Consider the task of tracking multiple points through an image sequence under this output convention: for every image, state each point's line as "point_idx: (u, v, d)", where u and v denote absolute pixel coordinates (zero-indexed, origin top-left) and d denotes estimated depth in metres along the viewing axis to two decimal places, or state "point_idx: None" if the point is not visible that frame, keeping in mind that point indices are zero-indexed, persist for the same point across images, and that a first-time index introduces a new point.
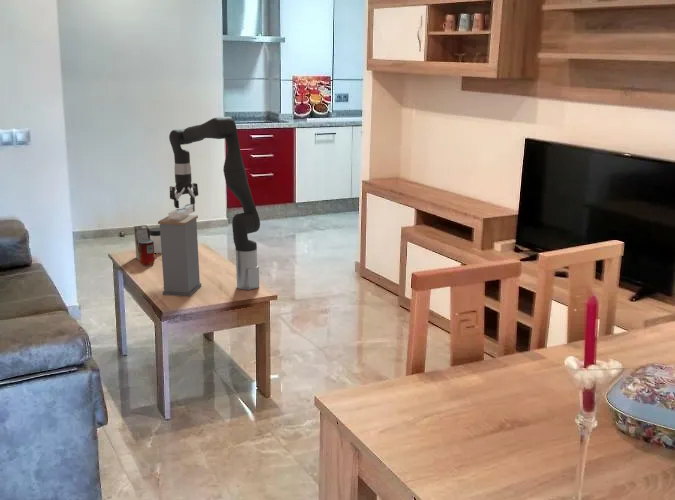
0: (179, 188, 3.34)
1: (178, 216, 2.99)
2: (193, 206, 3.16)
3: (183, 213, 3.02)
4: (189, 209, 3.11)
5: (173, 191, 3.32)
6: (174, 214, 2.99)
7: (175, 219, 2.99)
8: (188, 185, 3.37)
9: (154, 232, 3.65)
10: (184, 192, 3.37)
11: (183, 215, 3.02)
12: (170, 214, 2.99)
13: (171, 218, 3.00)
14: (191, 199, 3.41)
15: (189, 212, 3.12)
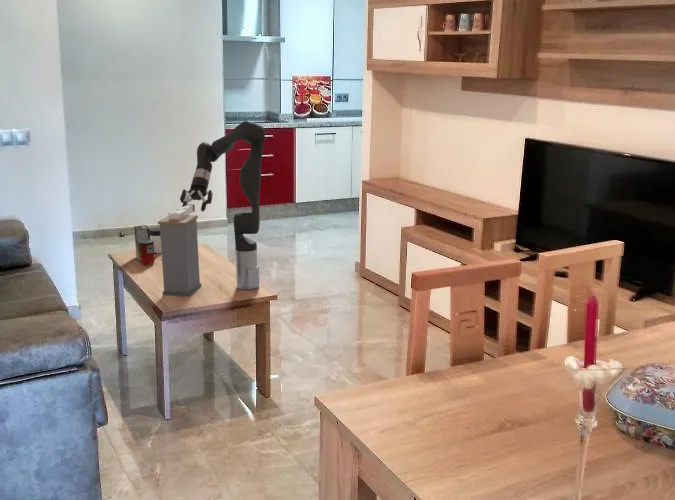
0: None
1: (178, 216, 2.99)
2: (193, 206, 3.16)
3: (183, 213, 3.02)
4: (189, 209, 3.11)
5: None
6: (174, 214, 2.99)
7: (175, 219, 2.99)
8: None
9: (154, 232, 3.65)
10: None
11: (183, 215, 3.02)
12: (170, 214, 2.99)
13: (171, 218, 3.00)
14: (186, 204, 3.27)
15: (189, 212, 3.12)
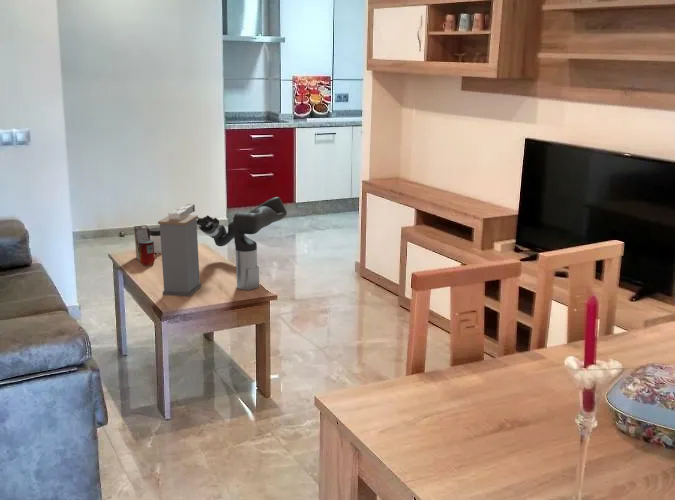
0: (210, 225, 3.34)
1: (178, 216, 2.99)
2: (193, 206, 3.16)
3: (183, 213, 3.02)
4: (189, 209, 3.11)
5: (216, 225, 3.32)
6: (174, 214, 2.99)
7: (175, 219, 2.99)
8: None
9: (154, 232, 3.65)
10: (203, 223, 3.32)
11: (183, 215, 3.02)
12: (170, 214, 2.99)
13: (171, 218, 3.00)
14: None
15: (189, 212, 3.12)
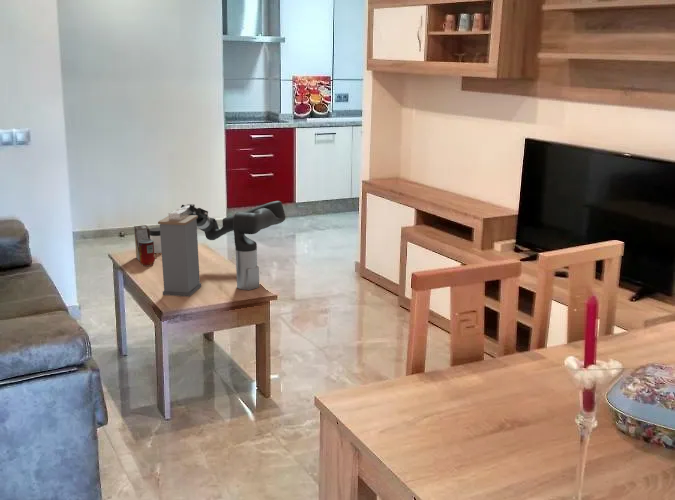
0: (199, 216, 3.20)
1: (178, 216, 2.99)
2: None
3: (183, 213, 3.02)
4: None
5: (204, 215, 3.18)
6: (174, 214, 2.99)
7: (175, 219, 2.99)
8: None
9: (154, 232, 3.65)
10: None
11: (183, 215, 3.02)
12: (170, 214, 2.99)
13: (171, 218, 3.00)
14: None
15: (189, 212, 3.12)
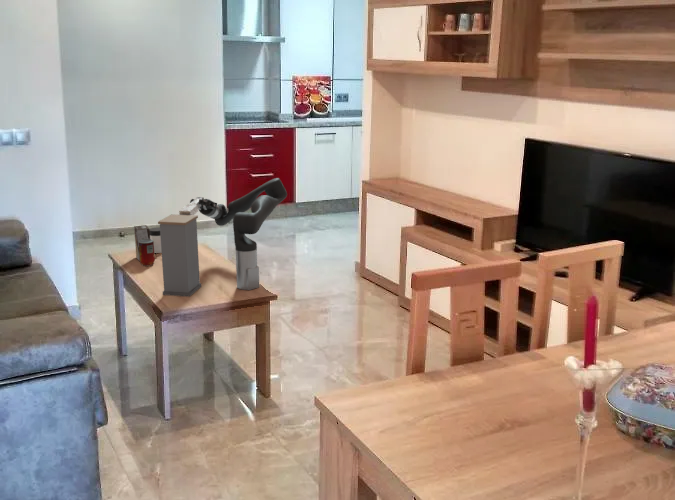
0: (209, 207, 3.32)
1: (189, 213, 3.11)
2: (202, 199, 3.27)
3: (193, 209, 3.14)
4: None
5: (213, 207, 3.30)
6: (185, 211, 3.11)
7: None
8: (200, 208, 3.34)
9: (154, 232, 3.65)
10: (201, 207, 3.31)
11: (193, 211, 3.14)
12: (181, 211, 3.11)
13: None
14: None
15: (199, 206, 3.23)
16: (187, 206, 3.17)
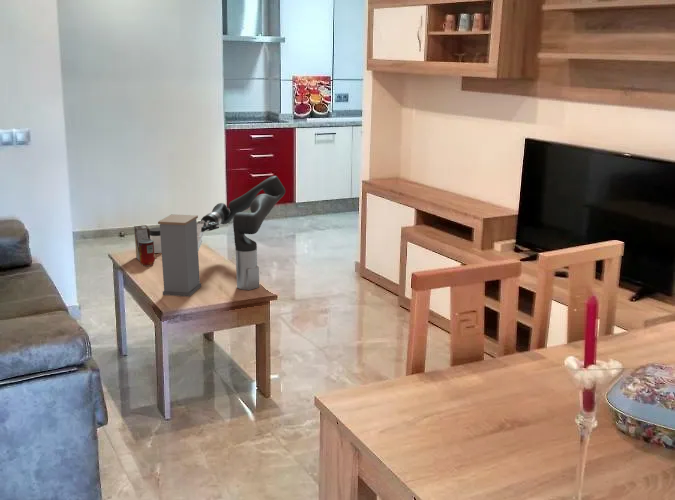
0: None
1: None
2: (204, 224, 3.30)
3: None
4: (201, 231, 3.27)
5: (215, 228, 3.34)
6: None
7: None
8: None
9: (154, 232, 3.65)
10: None
11: (198, 247, 3.21)
12: None
13: None
14: None
15: (202, 234, 3.28)
16: None
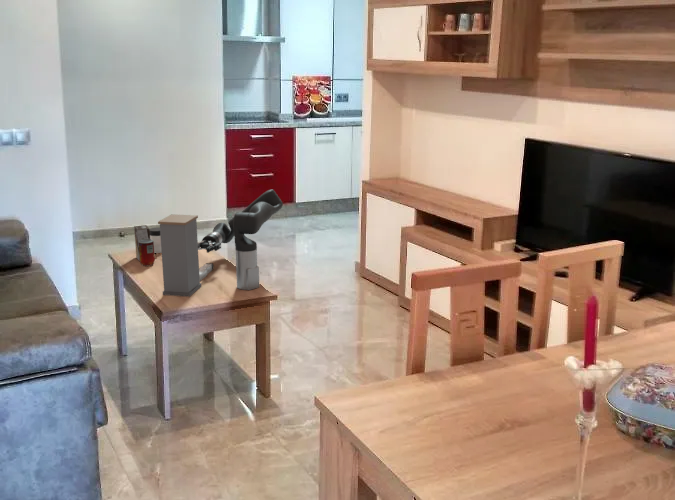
0: None
1: None
2: (212, 265, 3.40)
3: (202, 274, 3.27)
4: (208, 269, 3.36)
5: (218, 248, 3.37)
6: None
7: None
8: None
9: (154, 232, 3.65)
10: None
11: (202, 275, 3.27)
12: None
13: None
14: None
15: (208, 271, 3.36)
16: None
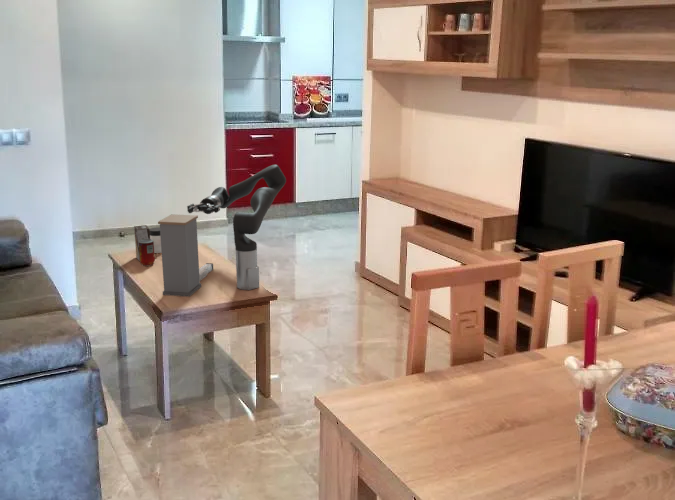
0: None
1: None
2: (212, 265, 3.40)
3: (202, 274, 3.27)
4: (208, 269, 3.36)
5: (218, 210, 3.33)
6: None
7: None
8: None
9: (154, 232, 3.65)
10: None
11: (202, 275, 3.27)
12: None
13: None
14: (192, 209, 3.29)
15: (208, 271, 3.36)
16: None
